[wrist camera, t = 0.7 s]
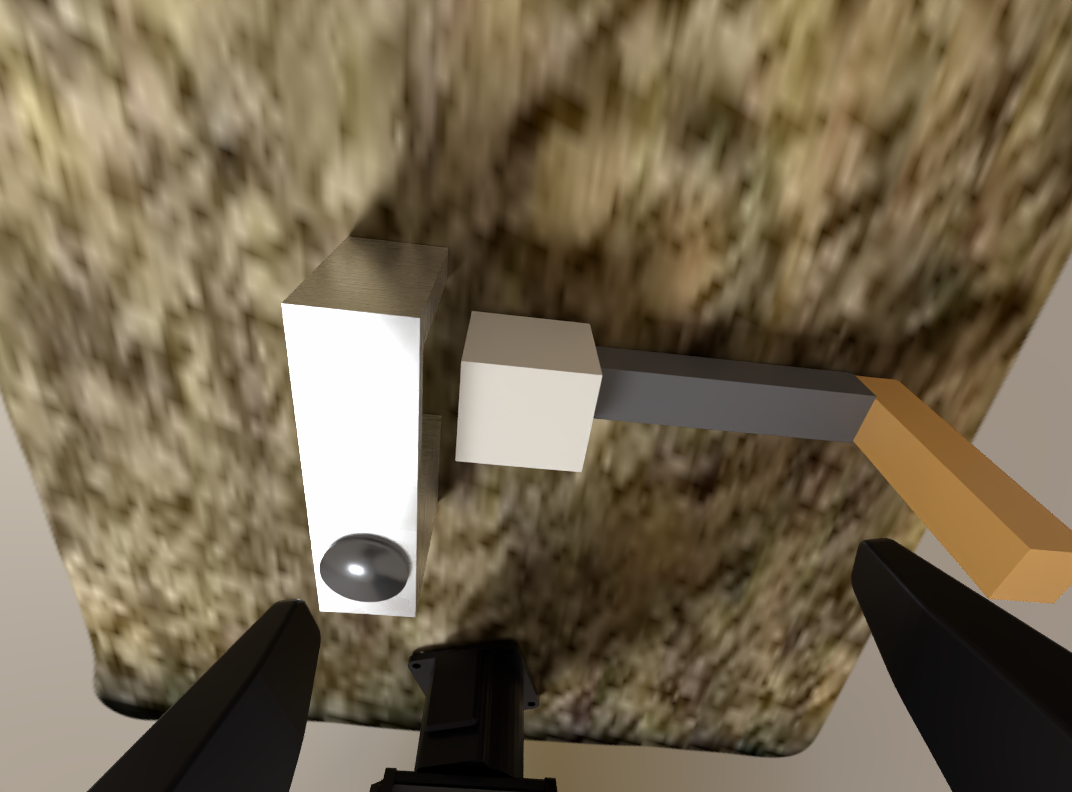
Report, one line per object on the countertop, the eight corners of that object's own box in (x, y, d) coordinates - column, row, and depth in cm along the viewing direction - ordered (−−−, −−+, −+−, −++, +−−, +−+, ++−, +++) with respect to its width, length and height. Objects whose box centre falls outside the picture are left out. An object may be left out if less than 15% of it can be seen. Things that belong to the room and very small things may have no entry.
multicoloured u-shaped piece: (909, 358, 22) (1125, 527, 14) (865, 438, 24) (1032, 625, 16) (471, 311, 21) (438, 469, 13) (465, 400, 23) (434, 584, 15)
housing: (448, 247, 20) (418, 321, 14) (437, 503, 26) (413, 623, 20) (348, 236, 19) (278, 307, 14) (362, 496, 26) (317, 616, 20)
